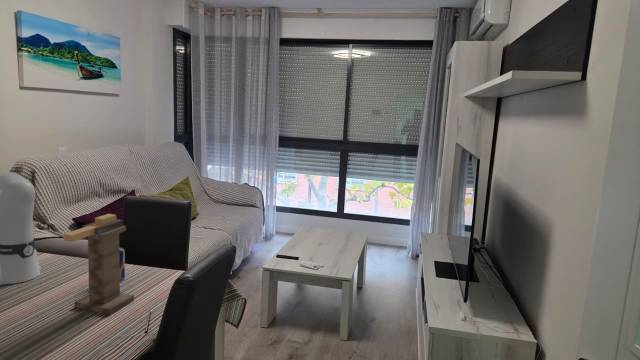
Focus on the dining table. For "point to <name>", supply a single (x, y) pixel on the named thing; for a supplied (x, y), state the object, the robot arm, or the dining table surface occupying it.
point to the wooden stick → (89, 228)
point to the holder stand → (104, 271)
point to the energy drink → (122, 263)
